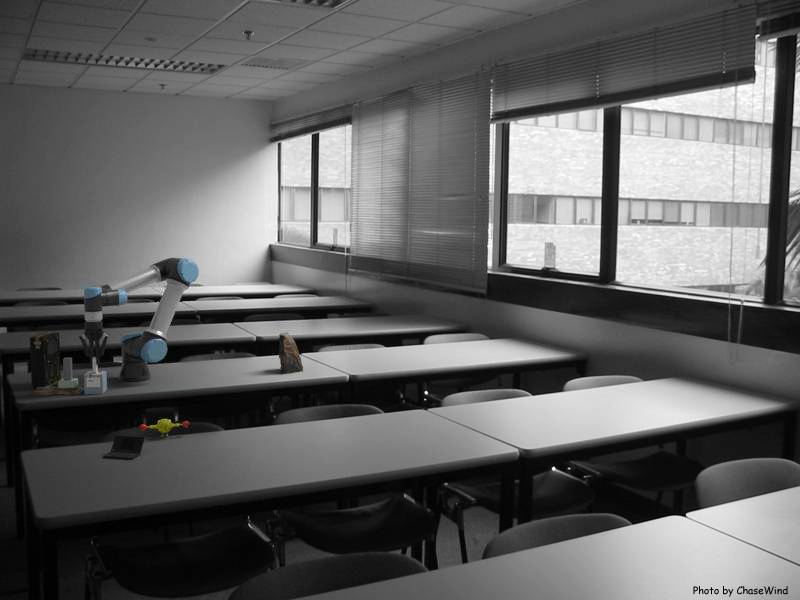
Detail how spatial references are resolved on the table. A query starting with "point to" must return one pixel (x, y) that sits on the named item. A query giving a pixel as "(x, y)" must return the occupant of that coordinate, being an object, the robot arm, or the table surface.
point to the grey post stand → (67, 375)
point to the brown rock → (289, 355)
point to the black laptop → (125, 448)
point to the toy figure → (164, 426)
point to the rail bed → (56, 390)
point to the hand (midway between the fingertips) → (95, 371)
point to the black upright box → (45, 359)
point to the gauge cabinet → (95, 382)
